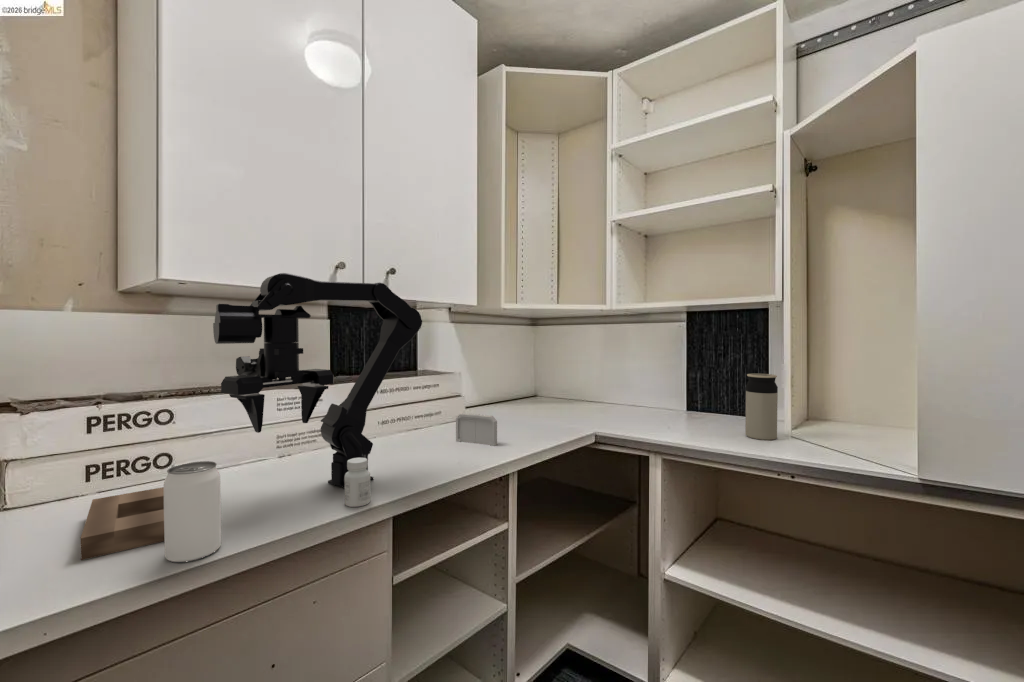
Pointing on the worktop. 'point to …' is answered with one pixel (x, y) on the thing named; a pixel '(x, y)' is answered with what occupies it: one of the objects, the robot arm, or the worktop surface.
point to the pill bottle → (357, 483)
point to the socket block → (123, 523)
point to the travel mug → (761, 407)
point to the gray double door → (476, 429)
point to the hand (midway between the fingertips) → (282, 427)
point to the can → (192, 511)
